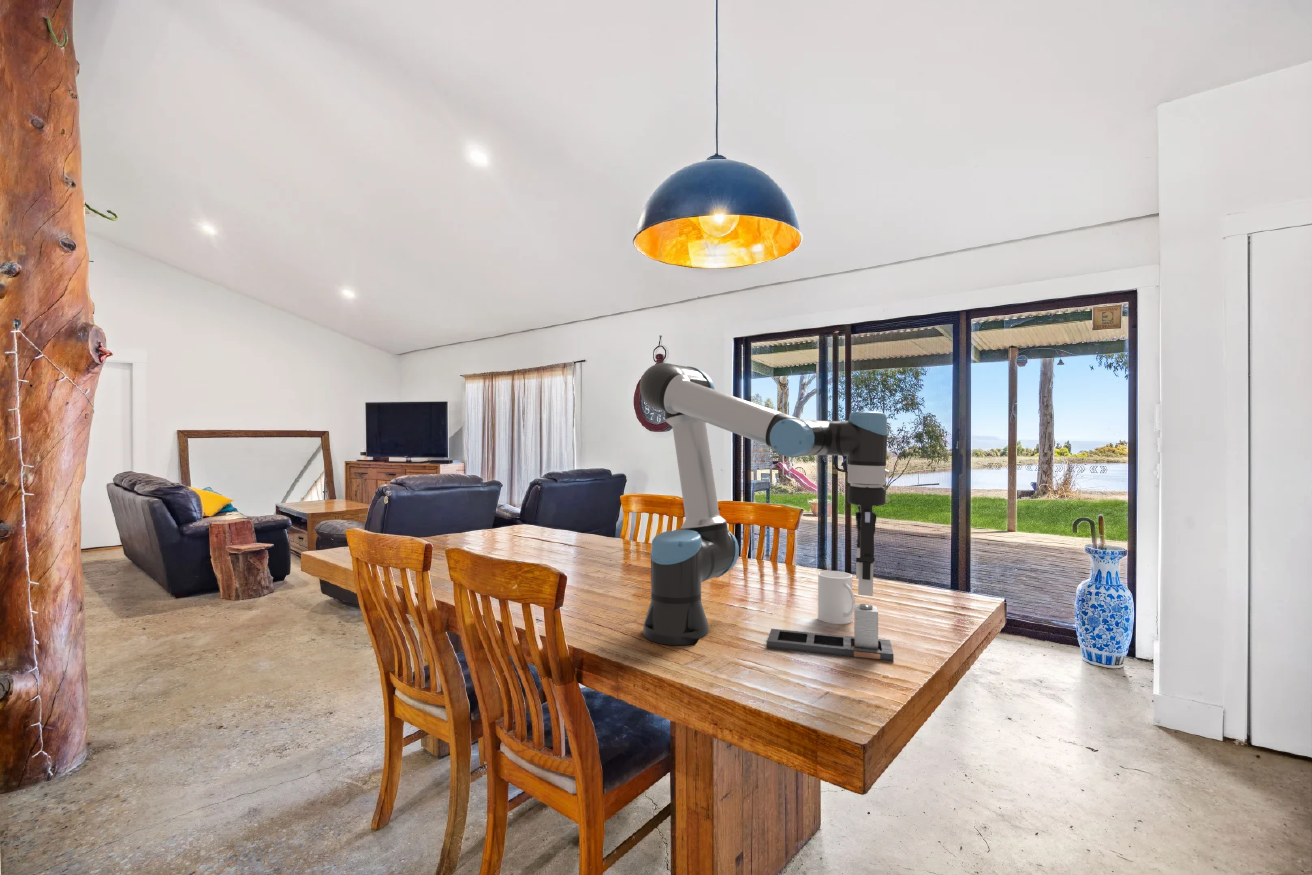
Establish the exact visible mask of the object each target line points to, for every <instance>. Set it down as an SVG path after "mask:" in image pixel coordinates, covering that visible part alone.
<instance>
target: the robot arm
mask: <svg viewBox="0 0 1312 875" xmlns="http://www.w3.org/2000/svg"><path fill="white" fill-rule="evenodd" d="M639 391H640V392H639V393H640V396H641V397H642V400H643V401H644V402H645V404H647V405H648V407H651V408H653V409H656V410H660V411H662V412H664V417H665V419H664V420H665V423H667V424H668V425H669V426H671V427H672V432H673V440H674V446H675V454H676V455H675V456H676V460H677V467H678V474H679V481H680V482H679V483H680V488H681V489H680V490H681V496H682V502H683V509H684V517H685V520H684V522H683V523H682V525H681V526H680V529H674V530H668V531H663V532H661V533H658V534H657V535H655V536H654V537H653V539H652V540H651V550H650V588H651V589H650V603H649V606H648V609H647V612H646V616H645V619H644V622H643V636H644V638H646V639H647V640H648V641H650V642H653V643H657V644H661V645H669V646H686V645H694V644H697V643H698V642H699V640H701V639H702V638H705V637H706V636H707V635H708V634H709V631H710V630H709V629H710V627H709V622H708V619H707V616H706V613H705V609H704V606H703V604H702V603H703V602H702V583H704V582H705V581H706V582H707V581H708V580H711V579H715V578H720V577H722V576H724V575H725V574H726V573H728V572H730V571H731V570H732V569H733V568H734V567H735V566H736V564H737V561H738V559H739V555H740V554H739V551H740V547H739V542H738V539H737V538H736V536H735V535H734V534H733V533H732V532H731V531H730V530H729V529H728V524H727V520H726V519H725V518H724V517H723V516H721V514H720V510H719V504H718V497H717V491H716V483H715V477H714V469H713V464H712V458H711V457H712V456H711V450H710V444H709V437H708V436H709V435H708V430H707V424H710V425H712V426H715V427H718V428H719V429H723V430H725V431H728V432H730V433H733V434H735V435H738V436H741V437H743V438H746V439H750V440H751V441H753V442H756V443H759V444H762V445H765V446H768V447H769V448H771V449H773V450H774V451H775V452H777V454H779V455H780V456H783V457H789V458H800V457H806V456H808V457H809V456H836V457H837V456H838V457H839V456H841V457H848V462H847V483H848V484H849V486H848V487H847V498H846V499H847V503H848V504H851V505H854V506H855V505H856V506H857V509H858V511H855V522H856V524H855V525H856V526H855V527H856V528H857V531H856V532H857V538H856V547H857V548H856V557H855V558H856V559H855V562H856V565H855V566H856V567H855V568H856V570H855V573H856V574H855V578H856V579H858V581H857V583H858V584H857V587H858V588H857V591H858V592H857V595H859V596H868V597H873V596H874V563H875V561H876V560H875V533H876V524H877V514H876V512H874V511H873V507H882V506H884V505H885V504H886V501H887V500H886V494H887V493H886V491H887V490H886V489H887V488H885V487H884V486H885V485H886V483H887V482H886V481H887V480H886V479H887V478H886V476H887V475H890V470H889V469H887V453H888V452H887V451H888V450H887V449H888V436H889V433H888V417H887V415H886V414H885V413H884V412H882V411H852V412H850V413H849V418H848V420H843V421H840V420H815V419H814V420H813V419H804V418H800V417H796V416H793V415H790V414H787V413H783V412H782V411H778V410H775V409H772V408H770V407H765V406H763V405H760V404H757V403H754V402H752V401H748V400H745V399H743V398H739V397H736V396H733V395H730V394H728V393H725V392H722V391H720V390H716V389H715V385H714V382H713V380H712V379H711V377H710V376H709V375H708V374H707V373H706V372H705V371H703V370H701V369H698V368H696V367H693V366H685V365H679V364H672V363H668V362H660V363H656V364H654V365H651V366H649V368H647V369H646V370H645V372H643V374H642V376H641V378H640V382H639Z"/></svg>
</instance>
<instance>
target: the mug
mask: <svg viewBox="0 0 1312 875" xmlns="http://www.w3.org/2000/svg"><path fill="white" fill-rule="evenodd" d="M817 574H818V575H817V576H818V578H817V579H818V583H817V587H818V588H817V591H818V592H817V593H818V594H817V596H818V597H817V600H818V601H817V607H818V609H817V620H819V621H821V622H824V623H827V624H831V625H834V624H835V625H848V624H851V623H853V622H854V620H853V613H854V604H856V598H855V594H854V591H853V575H852V574H851V573H848V572H844V571H841V570H840V571H838V570H824V571H819V572H818V573H817Z"/></svg>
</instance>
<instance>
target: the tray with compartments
mask: <svg viewBox="0 0 1312 875" xmlns="http://www.w3.org/2000/svg"><path fill="white" fill-rule="evenodd" d="M766 648H767V649H770V650H772V649H773V650H781V651H789V652H798V653H799V652H800V653H807V654H808V653H809V654H815V655H816V654H818V655H825V656H826V655H827V656H835V657H837V656H838V657H845V658H853V659H854V658H855V659H863V660H873V661H880V662H888V663H889V662H891V663H893V662H894V651H893V647H892V644H891V640H890V639H880V638H878V650H868V649H859V648H854V636H850V635H849V636H848V635H839V634H830V633H820V632H818V633H817V632H809V631H800V630H792V629H791V630H790V629H780V628H779V629H778V628H771V629H770V631H769V635H768V638H767V640H766Z"/></svg>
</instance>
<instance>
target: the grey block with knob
mask: <svg viewBox="0 0 1312 875" xmlns="http://www.w3.org/2000/svg"><path fill="white" fill-rule="evenodd" d="M853 613H854V614H853V617H854V620H853V622H854V623H853V624H854V625H853V627H854V628H853V629H854V630H853V631H854V633H853V635H854V636H853V637H854V648H859V649H868V650H878V639H879V609H878V606H877V605H872V604H868V603H860V604H856V603H855V604H854V612H853Z"/></svg>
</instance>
